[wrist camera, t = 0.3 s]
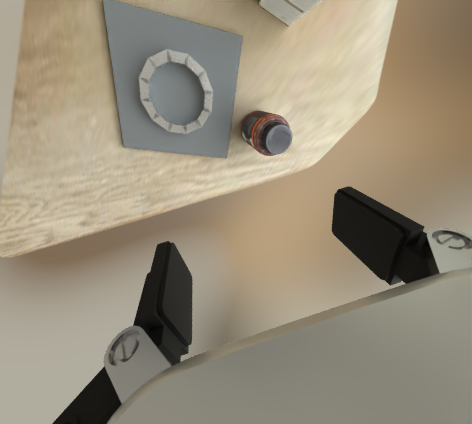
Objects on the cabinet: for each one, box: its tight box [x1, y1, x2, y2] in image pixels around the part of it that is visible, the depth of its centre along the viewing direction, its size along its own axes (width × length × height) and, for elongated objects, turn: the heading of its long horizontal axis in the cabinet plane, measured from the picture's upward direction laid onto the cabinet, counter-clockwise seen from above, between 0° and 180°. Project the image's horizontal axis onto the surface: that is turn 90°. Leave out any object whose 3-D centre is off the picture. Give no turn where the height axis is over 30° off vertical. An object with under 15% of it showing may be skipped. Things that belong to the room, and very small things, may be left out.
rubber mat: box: [103, 0, 243, 158], centre depth 30 cm, size 18×18×1 cm
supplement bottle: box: [241, 111, 292, 156], centre depth 30 cm, size 6×6×11 cm
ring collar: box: [139, 49, 213, 134], centre depth 29 cm, size 10×10×2 cm
